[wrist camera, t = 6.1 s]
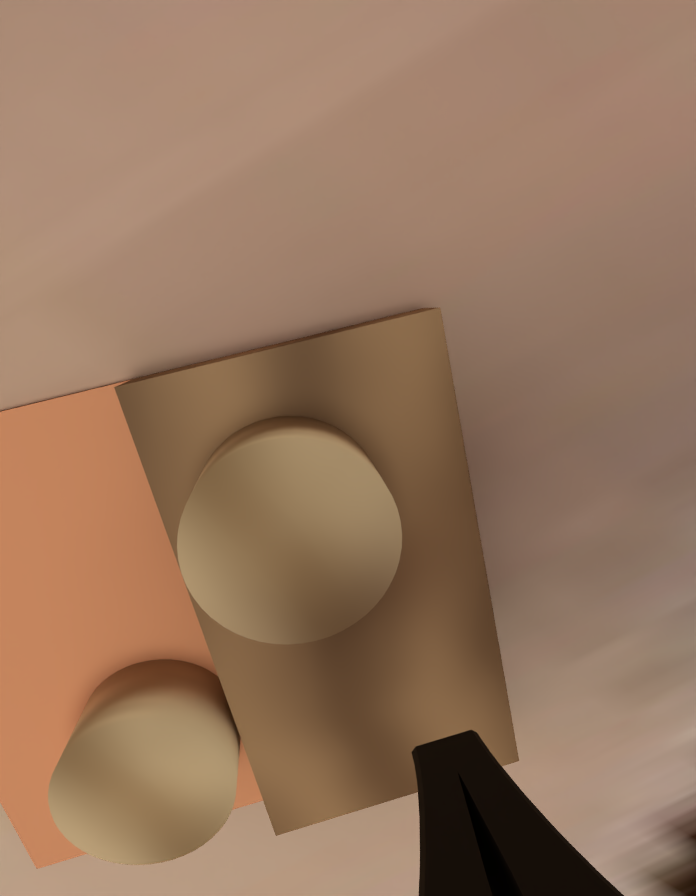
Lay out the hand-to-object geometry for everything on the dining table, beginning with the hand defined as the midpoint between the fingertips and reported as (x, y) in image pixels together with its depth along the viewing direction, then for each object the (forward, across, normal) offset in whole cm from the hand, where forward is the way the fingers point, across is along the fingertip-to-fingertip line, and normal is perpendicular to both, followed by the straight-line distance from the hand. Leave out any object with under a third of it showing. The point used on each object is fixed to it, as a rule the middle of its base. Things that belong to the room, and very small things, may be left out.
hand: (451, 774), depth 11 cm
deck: (+10, +1, 0) cm, 10 cm away
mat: (+9, +11, 0) cm, 15 cm away
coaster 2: (+6, +2, -4) cm, 8 cm away
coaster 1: (+8, +10, +4) cm, 13 cm away
